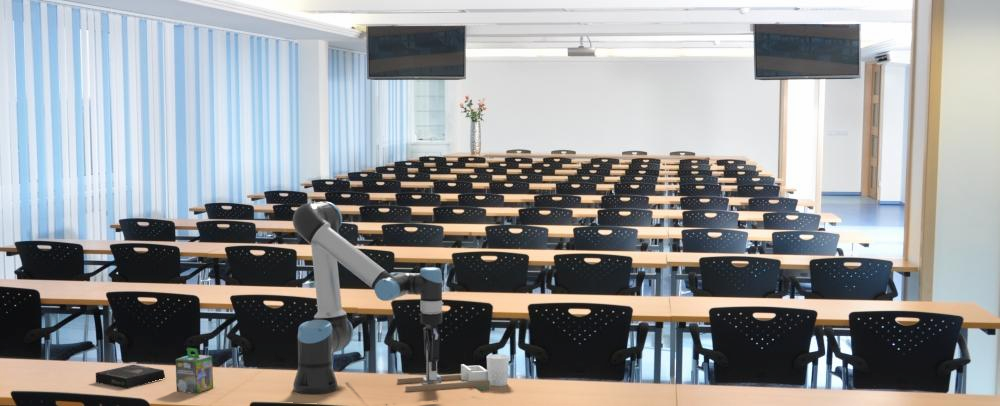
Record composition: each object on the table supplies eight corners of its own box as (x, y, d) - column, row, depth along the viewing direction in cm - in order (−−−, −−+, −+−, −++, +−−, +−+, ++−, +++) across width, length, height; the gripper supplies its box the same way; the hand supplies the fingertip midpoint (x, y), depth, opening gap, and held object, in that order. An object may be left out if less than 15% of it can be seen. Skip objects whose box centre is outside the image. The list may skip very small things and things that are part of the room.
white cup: (506, 387, 391) (506, 359, 390) (484, 386, 392) (484, 358, 392) (510, 382, 398) (510, 354, 398) (489, 381, 400) (489, 353, 399)
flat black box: (165, 380, 401) (164, 369, 401) (126, 389, 387) (126, 378, 386) (134, 374, 410) (134, 364, 410) (95, 383, 395) (95, 372, 395)
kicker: (427, 387, 384) (427, 344, 383) (422, 383, 390) (422, 341, 389) (442, 386, 386) (442, 344, 384) (436, 382, 392) (436, 340, 391)
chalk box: (213, 388, 387) (213, 346, 386) (196, 394, 379) (195, 351, 378) (193, 385, 391) (192, 344, 390) (175, 391, 383) (174, 349, 382)
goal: (469, 386, 387) (469, 370, 387) (460, 380, 397) (460, 364, 396) (488, 385, 389) (488, 368, 389) (479, 378, 399) (479, 363, 398)
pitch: (406, 395, 378) (406, 386, 378) (397, 386, 391) (397, 378, 391) (489, 388, 388) (489, 380, 388) (478, 380, 400) (478, 372, 400)
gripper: (448, 315, 380) (448, 382, 382) (435, 308, 395) (435, 373, 396) (427, 316, 378) (427, 384, 379) (415, 309, 392) (415, 374, 394)
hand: (431, 378), depth 388 cm, fingers closed on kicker, 3 cm apart
